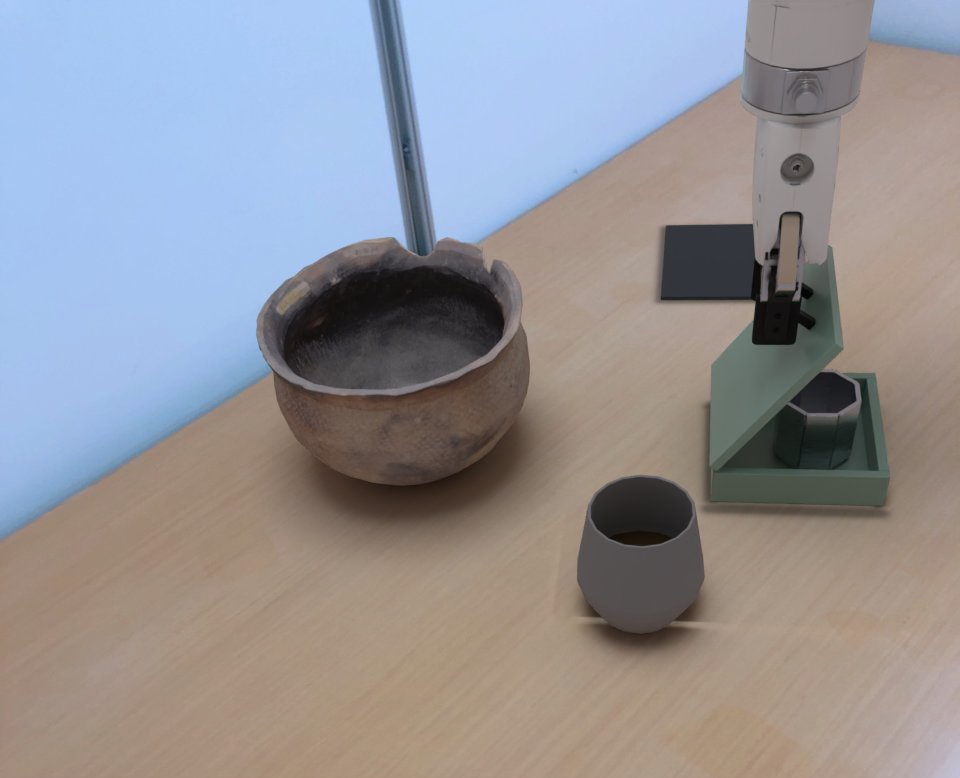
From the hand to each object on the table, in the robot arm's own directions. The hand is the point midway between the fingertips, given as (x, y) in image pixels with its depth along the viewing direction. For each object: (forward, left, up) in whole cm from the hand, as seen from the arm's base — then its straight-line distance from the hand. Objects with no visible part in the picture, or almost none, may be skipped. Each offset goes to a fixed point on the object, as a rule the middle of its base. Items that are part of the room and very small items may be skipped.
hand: (772, 318), depth 84 cm
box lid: (-1, 0, -4) cm, 4 cm away
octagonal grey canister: (-4, 0, -13) cm, 14 cm away
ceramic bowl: (+30, 0, -14) cm, 33 cm away
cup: (+9, +18, -14) cm, 24 cm away
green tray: (-3, 0, -14) cm, 14 cm away
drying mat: (+2, -31, -14) cm, 34 cm away
